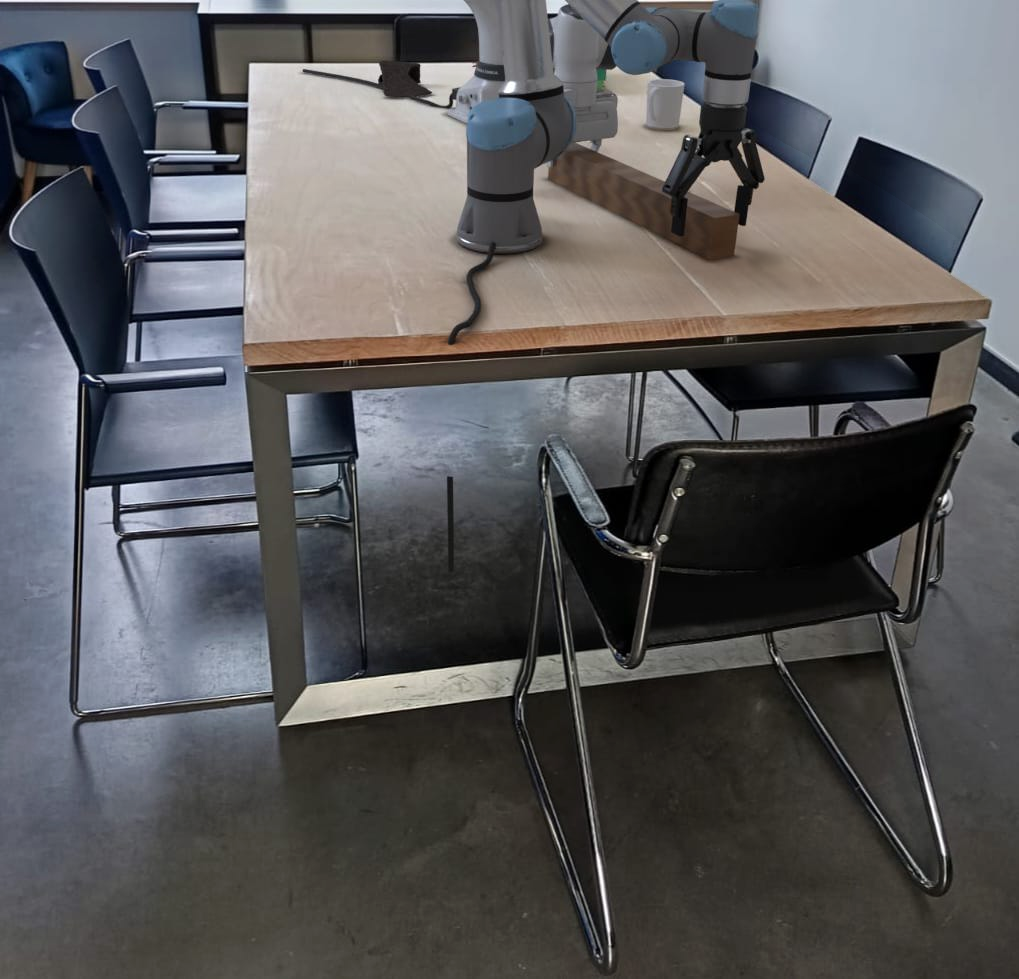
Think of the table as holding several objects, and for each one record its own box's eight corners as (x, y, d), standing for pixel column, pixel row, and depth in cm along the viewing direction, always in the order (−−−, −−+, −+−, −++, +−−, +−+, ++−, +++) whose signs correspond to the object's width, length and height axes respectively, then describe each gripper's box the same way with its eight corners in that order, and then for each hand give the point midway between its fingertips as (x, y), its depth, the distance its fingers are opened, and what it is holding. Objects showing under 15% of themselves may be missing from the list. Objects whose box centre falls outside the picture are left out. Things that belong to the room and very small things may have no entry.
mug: (656, 120, 276) (660, 77, 271) (687, 126, 272) (691, 82, 266) (632, 127, 269) (635, 84, 264) (663, 134, 264) (667, 89, 259)
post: (734, 255, 191) (739, 213, 187) (709, 260, 189) (714, 218, 185) (569, 176, 232) (571, 140, 228) (547, 179, 230) (549, 143, 226)
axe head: (443, 87, 294) (392, 77, 287) (436, 115, 299) (385, 106, 292) (421, 62, 307) (371, 52, 300) (414, 89, 311) (365, 80, 304)
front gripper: (767, 92, 188) (750, 213, 199) (649, 104, 178) (637, 232, 189) (797, 101, 183) (777, 225, 194) (676, 114, 172) (663, 245, 183)
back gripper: (609, 86, 225) (604, 154, 232) (522, 95, 216) (521, 165, 223) (626, 92, 220) (621, 161, 227) (538, 101, 211) (536, 173, 219)
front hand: (708, 229), depth 191 cm, fingers open, 13 cm apart
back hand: (570, 163), depth 225 cm, fingers open, 8 cm apart
